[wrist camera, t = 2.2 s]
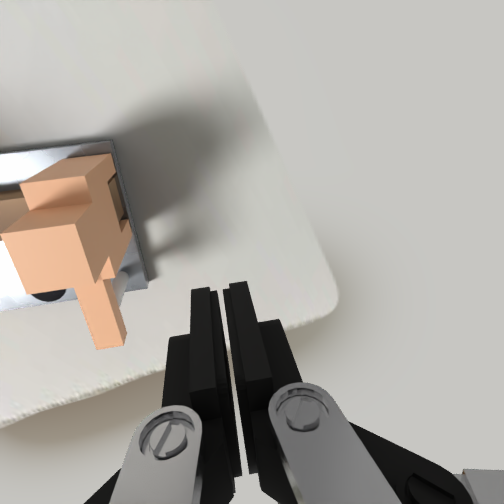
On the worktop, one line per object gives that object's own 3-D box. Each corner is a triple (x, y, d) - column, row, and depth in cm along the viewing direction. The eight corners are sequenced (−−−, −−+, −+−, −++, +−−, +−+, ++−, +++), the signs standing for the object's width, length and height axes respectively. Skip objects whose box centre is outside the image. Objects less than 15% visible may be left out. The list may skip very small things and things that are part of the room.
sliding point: (62, 159, 22) (-15, 202, 14) (110, 153, 23) (64, 192, 14) (107, 296, 27) (69, 390, 19) (147, 290, 27) (127, 380, 19)
